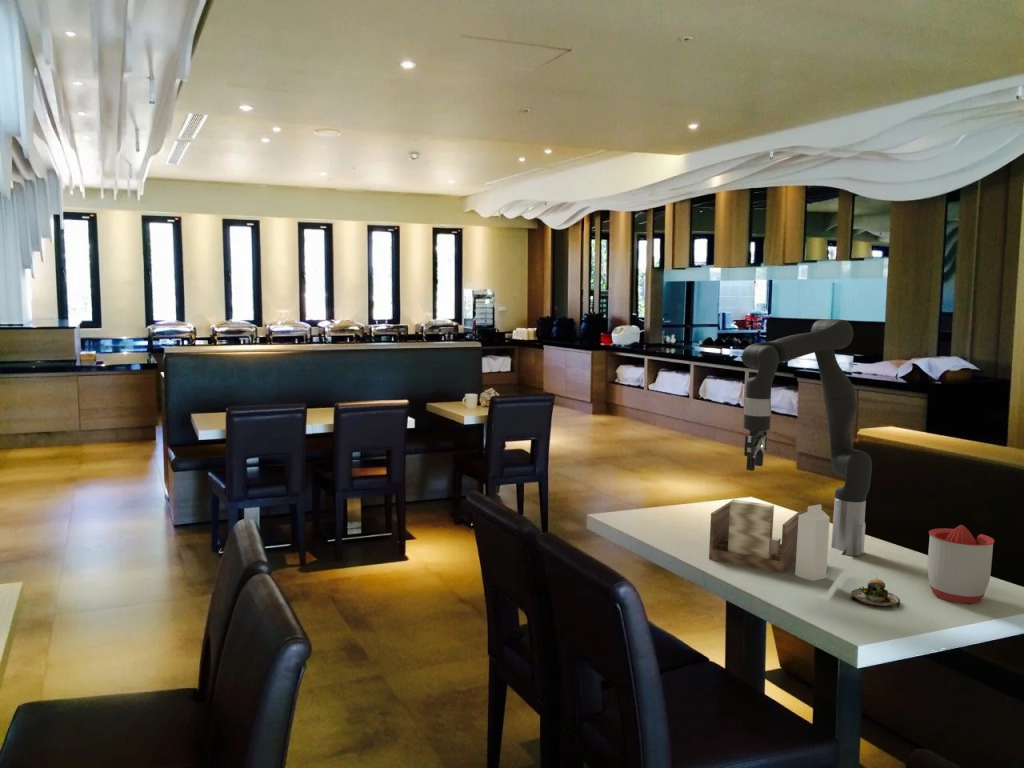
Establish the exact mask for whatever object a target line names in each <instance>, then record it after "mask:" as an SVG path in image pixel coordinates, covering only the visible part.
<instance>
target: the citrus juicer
mask: <svg viewBox="0 0 1024 768" xmlns="http://www.w3.org/2000/svg"><path fill="white" fill-rule="evenodd" d="M928 534H929V542H928V554H927V576H928V580H929V581H928V582H929V586H930V589H931V591H932V593H933V595H935V597H936V598H940V599H944V600H946V601H949V602H950V601H951V602H955V603H961V604H963V603H965V604H964V605H970V604H977V603H979V602H981V601H982V599H983V598H984V596H985V594H986V591H987V589H988V587H989V583H990V579H991V572H992V562H993V551H994V549H993V548H994V544H995V539H994V538H993V537H991V536H988V535H986V534H982V533H980V534H978V535H977V536H976V538H975V537H974V536H973V534H972V532H970V530H969V529H968V528H967V527H966V526H965V525H963V524H960V525H958V526H956V527H955V528H941V527H940V528H934V529H933V528H932V529H930V530H928Z"/></svg>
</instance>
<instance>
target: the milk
mask: <svg viewBox="0 0 1024 768" xmlns="http://www.w3.org/2000/svg"><path fill="white" fill-rule="evenodd" d="M830 518H831V517H830V516H829V515H828V514H827V513H826V512H825V511H824V510H823V509H822V504H816V505H815V504H814V505H808V507H807V511H806V512H803V514H801V515H799V518H798V535H797V552H796V561H795V571H794V572H795V573H794V575H795V576H797V577H800V578H802V579H805V580H808V581H812V582H815V581H819V580H822V579H826V578H827V568H828V567H827V566H828V554H829V550H828V548H829V537H830V536H829V533H830V520H831V519H830Z"/></svg>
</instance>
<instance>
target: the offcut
mask: <svg viewBox="0 0 1024 768" xmlns="http://www.w3.org/2000/svg"><path fill="white" fill-rule="evenodd" d="M781 543H782V537H775V536H772V550H771V554H777V555H780V544H781Z"/></svg>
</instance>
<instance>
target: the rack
mask: <svg viewBox="0 0 1024 768" xmlns="http://www.w3.org/2000/svg"><path fill="white" fill-rule="evenodd" d="M803 513H804V511H802V510H799V511H798V512H797V513H795V514H794V515H793V516H791V517H790V518H789V519H788V520H786V521H785V522H784V523H783V524H782V528H781V529H782V531H781V534H782V535H781V543H780V555H777V554H771V559H765V558H760V557H755V556H749V555H744V554H739V553H733V552H728V538H729V519H730V501H729V502H727V503H725V504H724V505H722V506H720V507H718V508H717V509H716V510H714V511H712V512H711V513H710V528H709V548H708V551H709V552H708V560H713V561H718V562H723V563H729V564H733V565H739V566H744V567H748V568H753V569H759V570H763V571H769V572H775V573H778V574H779V573H780V574H785V573H786V572H787V570H789V568H790V567H791V566H792V565H793V564H794V563H796V552H797V535H798V518H799V515H801V514H803Z"/></svg>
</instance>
